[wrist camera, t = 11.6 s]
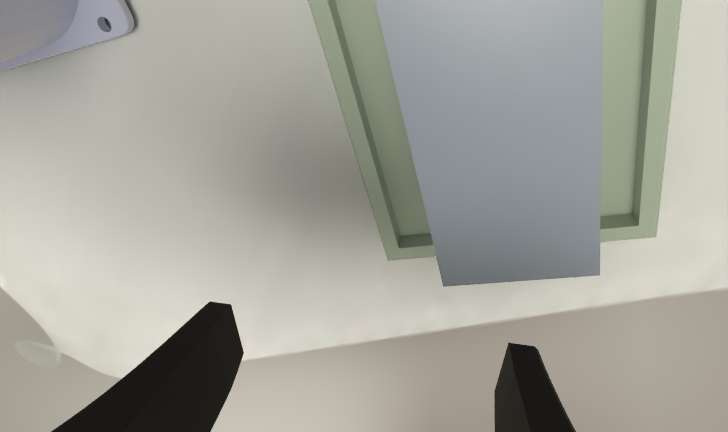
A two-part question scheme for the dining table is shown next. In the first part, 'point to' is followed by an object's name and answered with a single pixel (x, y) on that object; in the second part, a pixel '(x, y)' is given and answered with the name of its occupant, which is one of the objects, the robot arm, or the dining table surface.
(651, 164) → the sage tray
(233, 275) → the dining table surface
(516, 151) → the grey oblong block
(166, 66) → the dining table surface
